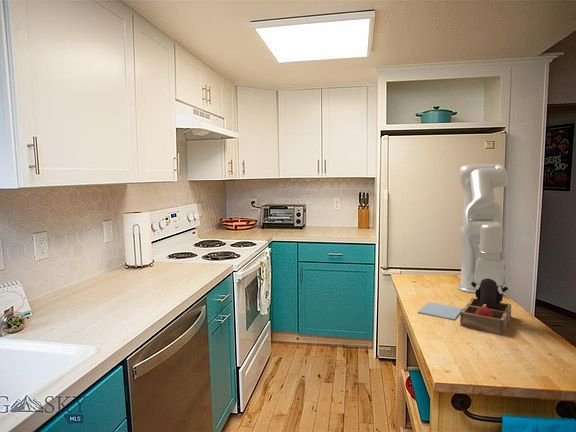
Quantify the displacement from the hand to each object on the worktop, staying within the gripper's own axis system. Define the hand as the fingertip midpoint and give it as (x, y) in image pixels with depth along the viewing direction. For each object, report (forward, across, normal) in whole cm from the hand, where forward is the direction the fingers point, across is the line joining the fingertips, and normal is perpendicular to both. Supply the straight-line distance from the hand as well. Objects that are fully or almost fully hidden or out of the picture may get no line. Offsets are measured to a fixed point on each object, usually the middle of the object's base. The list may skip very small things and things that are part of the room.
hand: (488, 300), depth 147 cm
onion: (+7, 0, +10) cm, 12 cm away
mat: (+7, +17, +4) cm, 19 cm away
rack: (+7, 0, +4) cm, 8 cm away
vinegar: (+7, 0, 0) cm, 7 cm away
